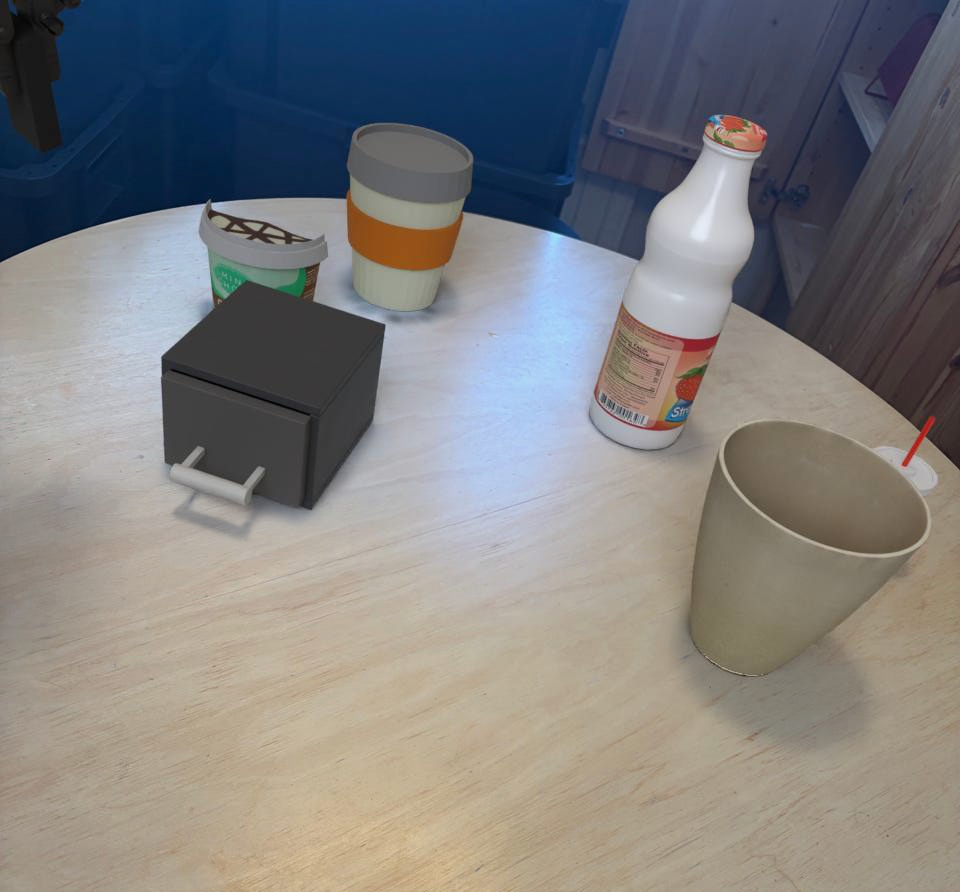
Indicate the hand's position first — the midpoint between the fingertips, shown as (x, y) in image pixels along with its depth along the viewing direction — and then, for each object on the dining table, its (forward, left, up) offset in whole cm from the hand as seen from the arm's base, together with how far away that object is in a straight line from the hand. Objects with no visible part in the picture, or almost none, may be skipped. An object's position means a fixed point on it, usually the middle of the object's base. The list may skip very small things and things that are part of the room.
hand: (38, 136), depth 59 cm
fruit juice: (+31, +41, -25) cm, 57 cm away
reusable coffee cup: (0, +45, -25) cm, 51 cm away
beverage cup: (+55, +38, -25) cm, 72 cm away
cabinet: (+8, +14, -25) cm, 30 cm away
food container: (-5, +27, -25) cm, 37 cm away
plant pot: (+50, +18, -25) cm, 59 cm away
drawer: (+9, +10, -24) cm, 28 cm away
